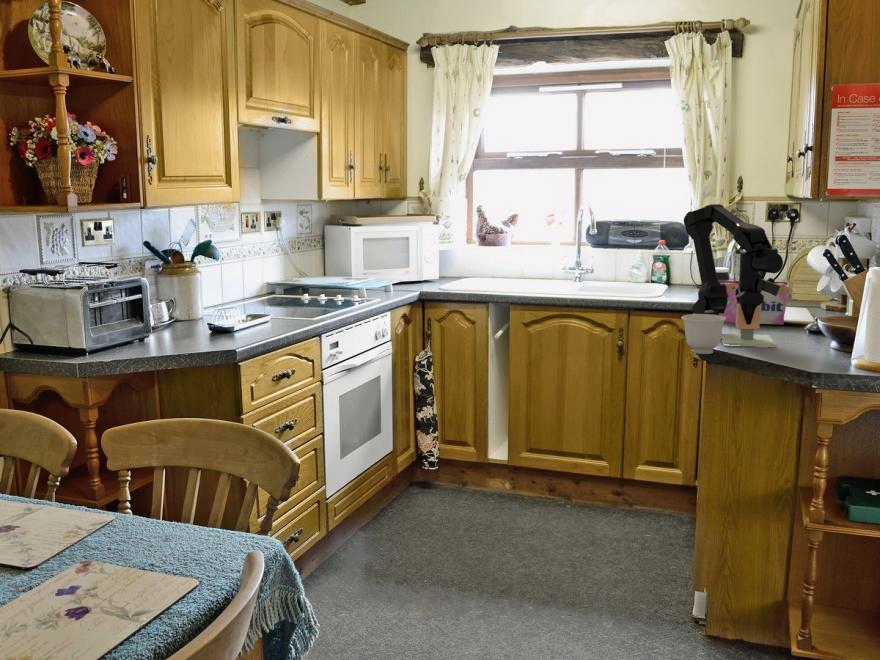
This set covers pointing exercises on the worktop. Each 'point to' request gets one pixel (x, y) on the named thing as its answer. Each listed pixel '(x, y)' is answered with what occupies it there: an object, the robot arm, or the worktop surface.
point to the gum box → (769, 310)
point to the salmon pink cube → (741, 320)
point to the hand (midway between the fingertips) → (747, 322)
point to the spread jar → (722, 274)
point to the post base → (748, 339)
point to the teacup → (703, 331)
